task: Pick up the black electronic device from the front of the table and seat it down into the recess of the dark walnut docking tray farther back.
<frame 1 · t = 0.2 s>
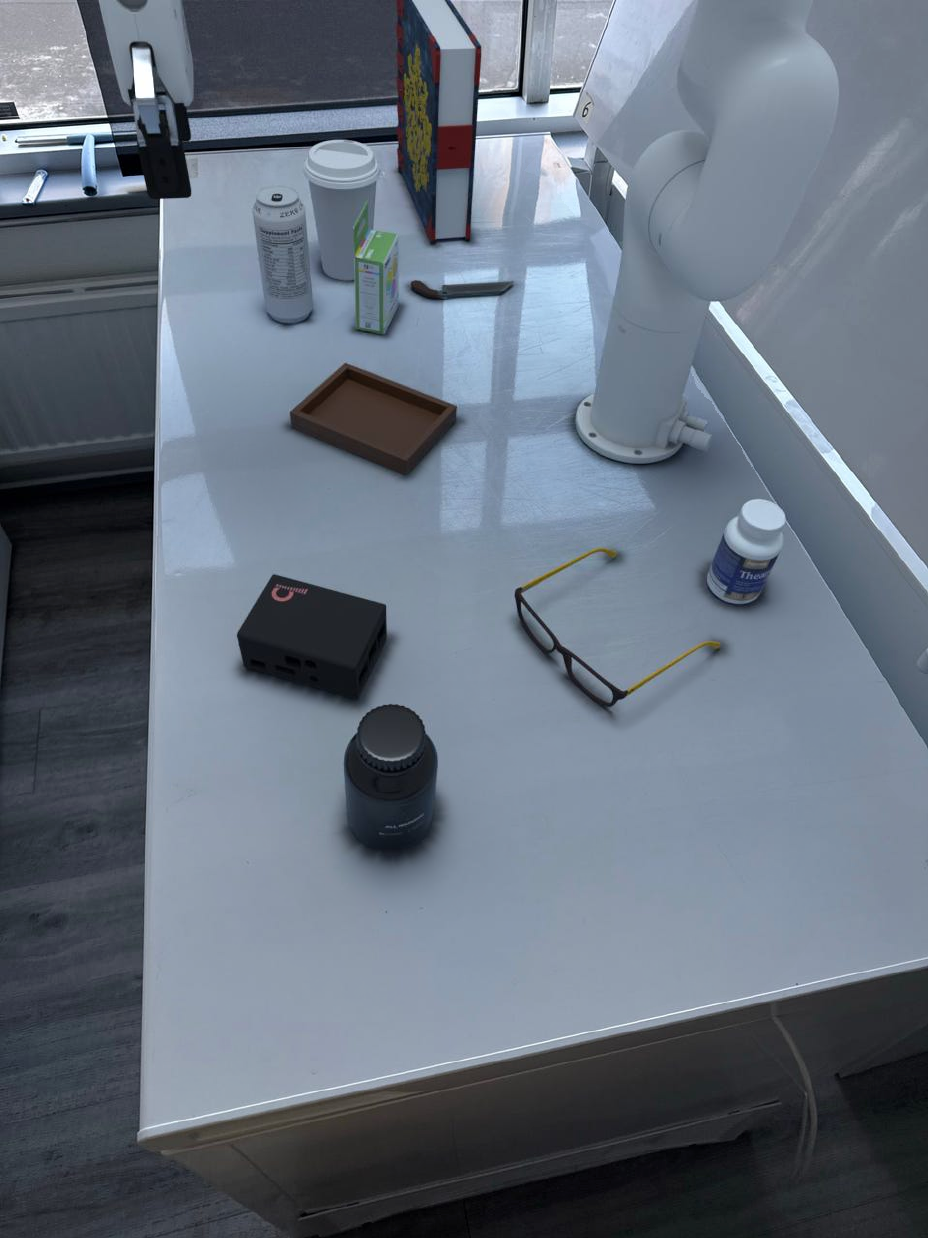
hand: (171, 167, 71), 31 cm above the table, tool pointing down, fingers open, 9 cm apart
book: (431, 202, 135), on the table
ink box: (377, 319, 114), on the table
pill bottle: (732, 586, 88), on the table
knife: (464, 290, 120), on the table
eyeglasses: (611, 635, 84), on the table
coffee cup: (346, 269, 122), on the table
energy drink can: (290, 313, 114), on the table
electronic device: (317, 654, 80), on the table
docking tray: (374, 423, 101), on the table
supplement bottle: (391, 814, 71), on the table
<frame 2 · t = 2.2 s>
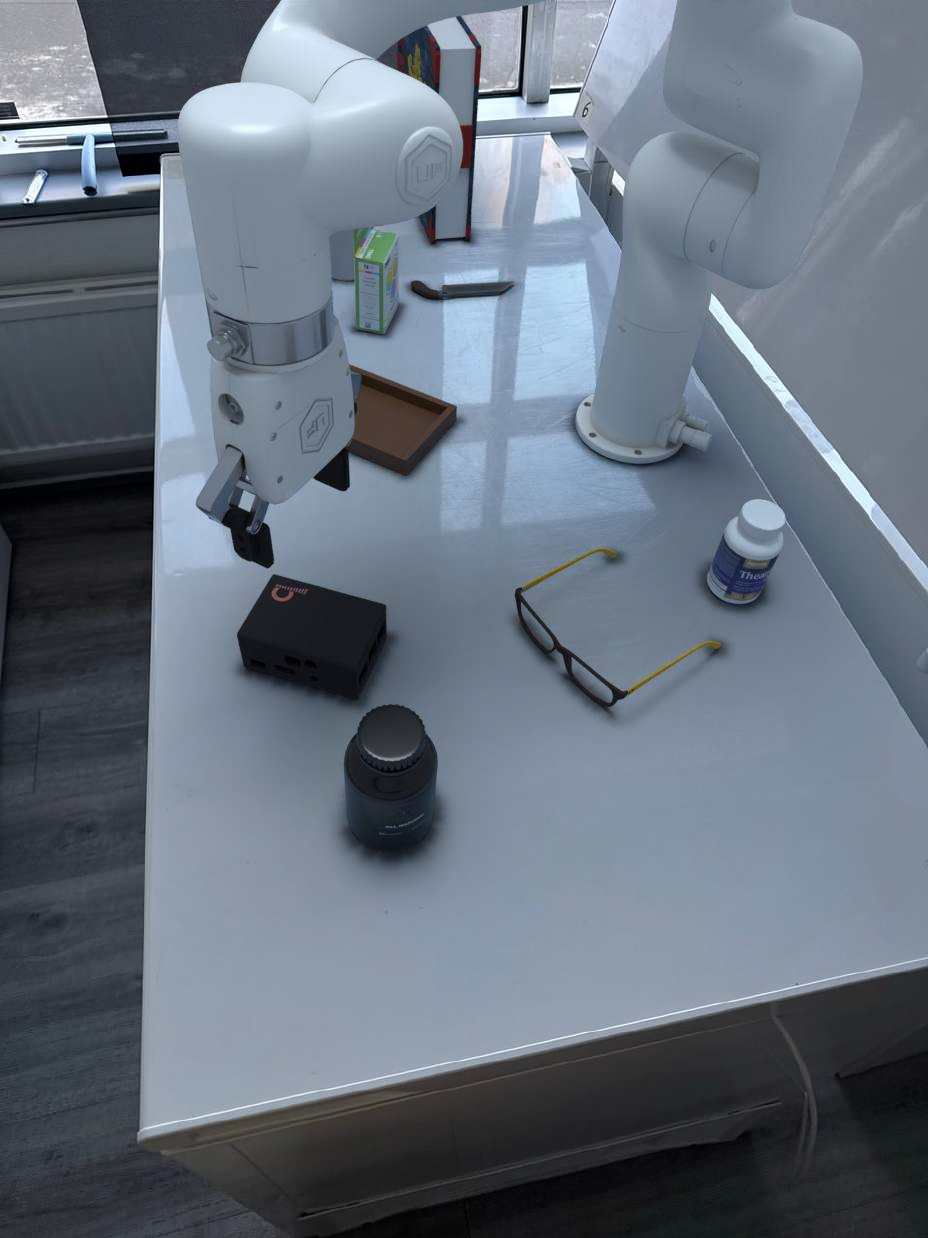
hand: (294, 519, 68), 16 cm above the table, tool pointing down, fingers open, 9 cm apart
nothing on the table moved.
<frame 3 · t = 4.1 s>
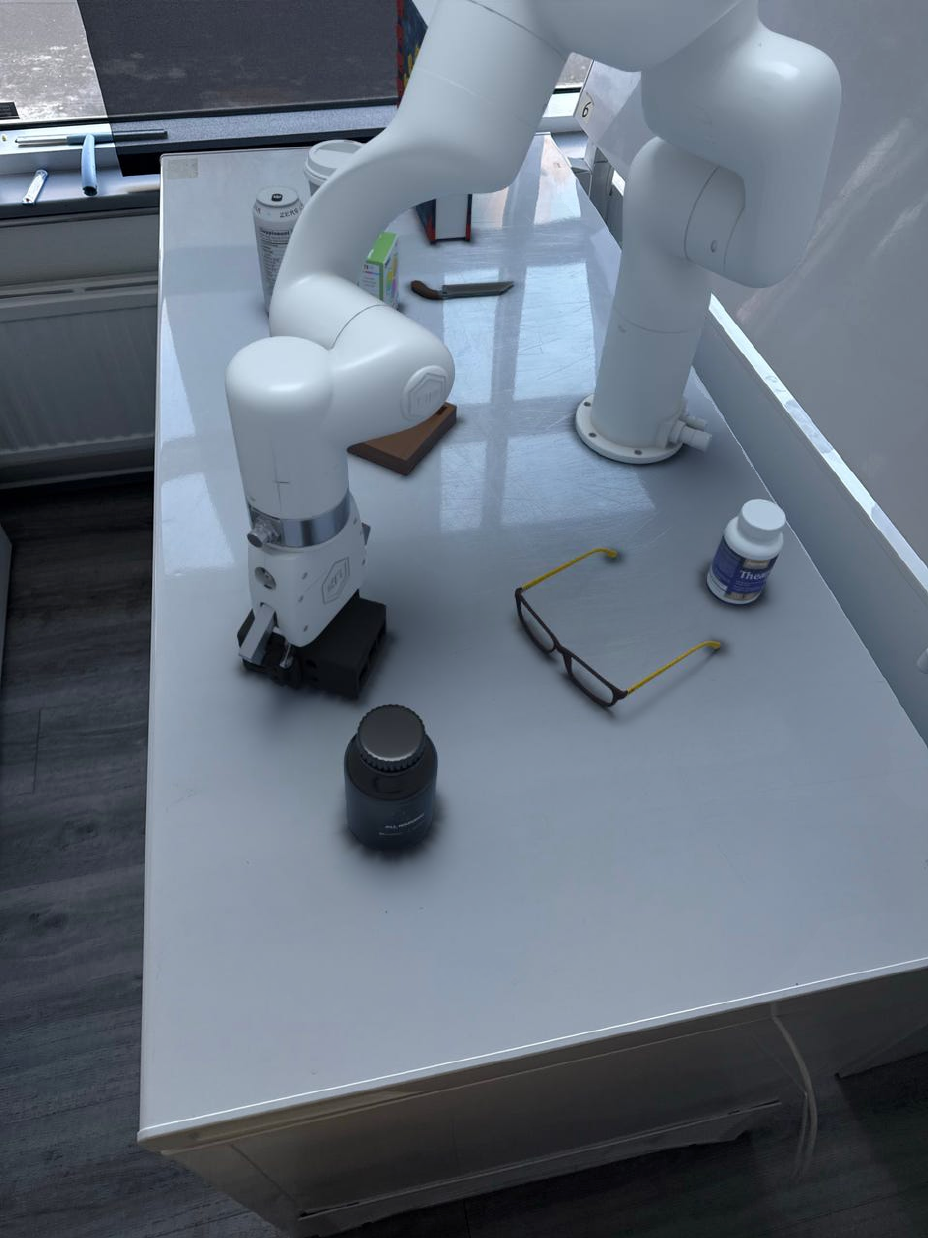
hand: (315, 645, 79), 1 cm above the table, tool pointing down, fingers closed on electronic device, 8 cm apart
electronic device: (317, 654, 80), on the table, touching gripper
everything else where it was.
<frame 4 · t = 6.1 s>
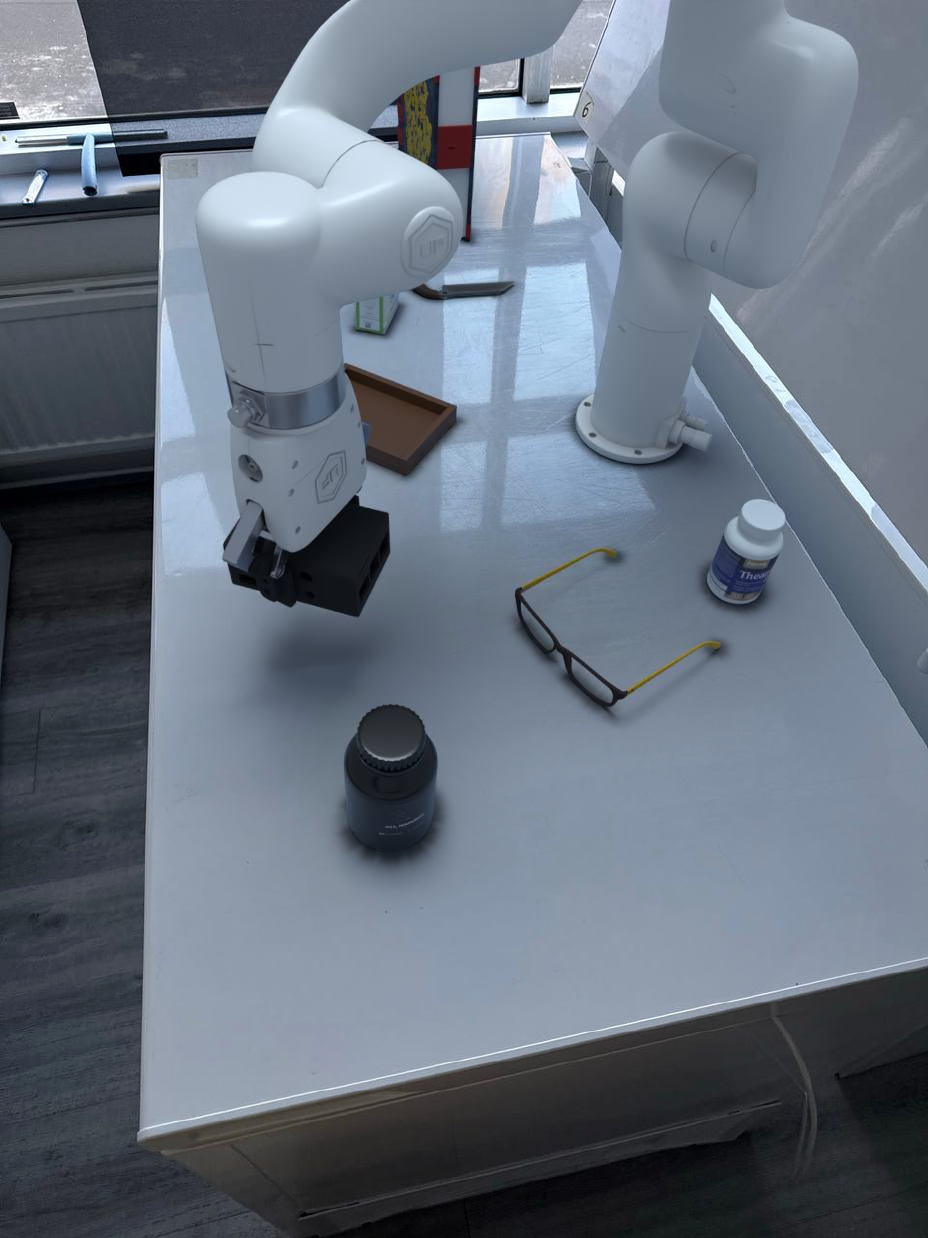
hand: (311, 560, 72), 12 cm above the table, tool pointing down, fingers closed on electronic device, 8 cm apart
electronic device: (313, 571, 73), point 10 cm above the table, touching gripper
everything else where it was.
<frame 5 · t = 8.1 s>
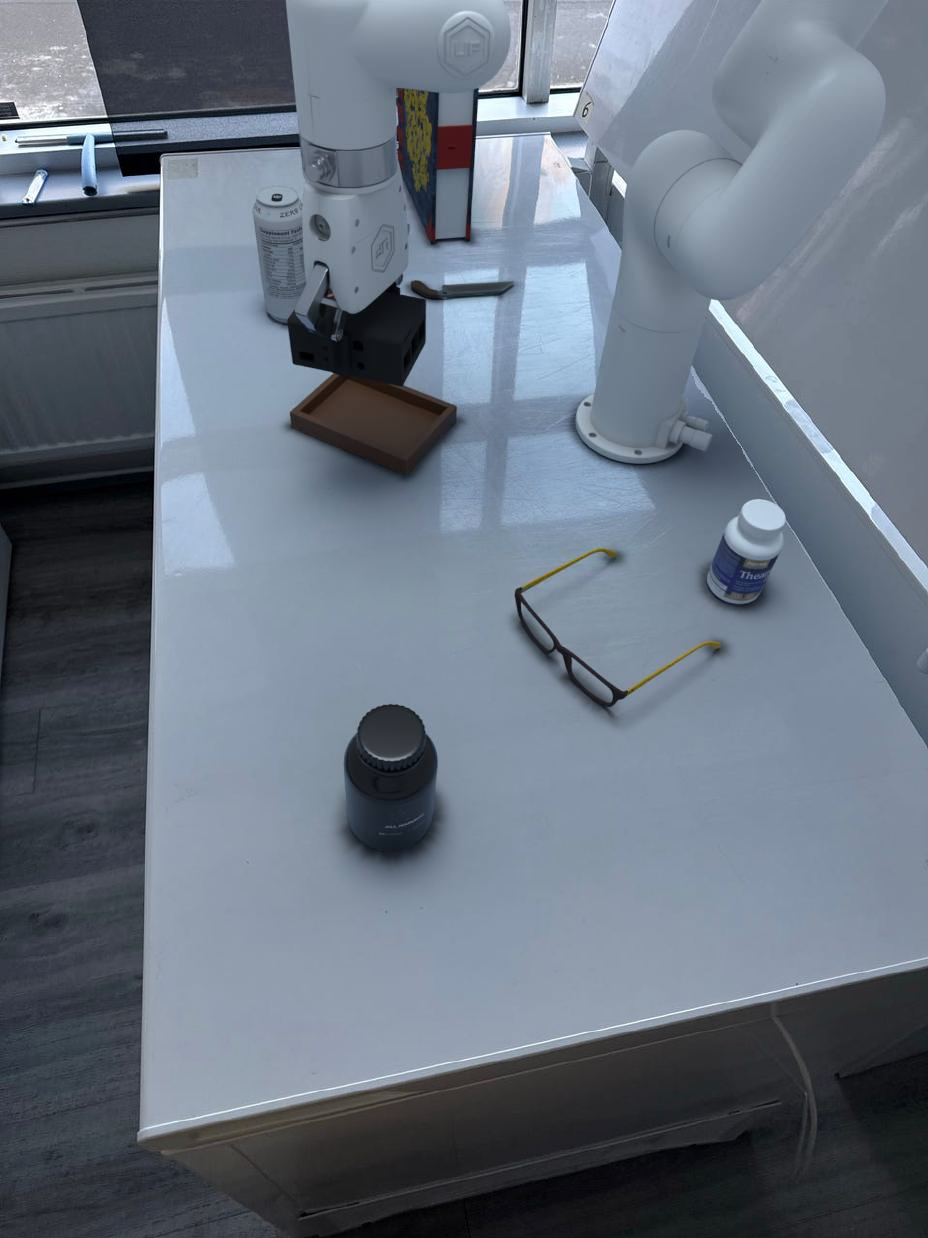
hand: (360, 345, 84), 16 cm above the table, tool pointing down, fingers closed on electronic device, 8 cm apart
electronic device: (360, 357, 85), point 14 cm above the table, touching gripper
everything else where it was.
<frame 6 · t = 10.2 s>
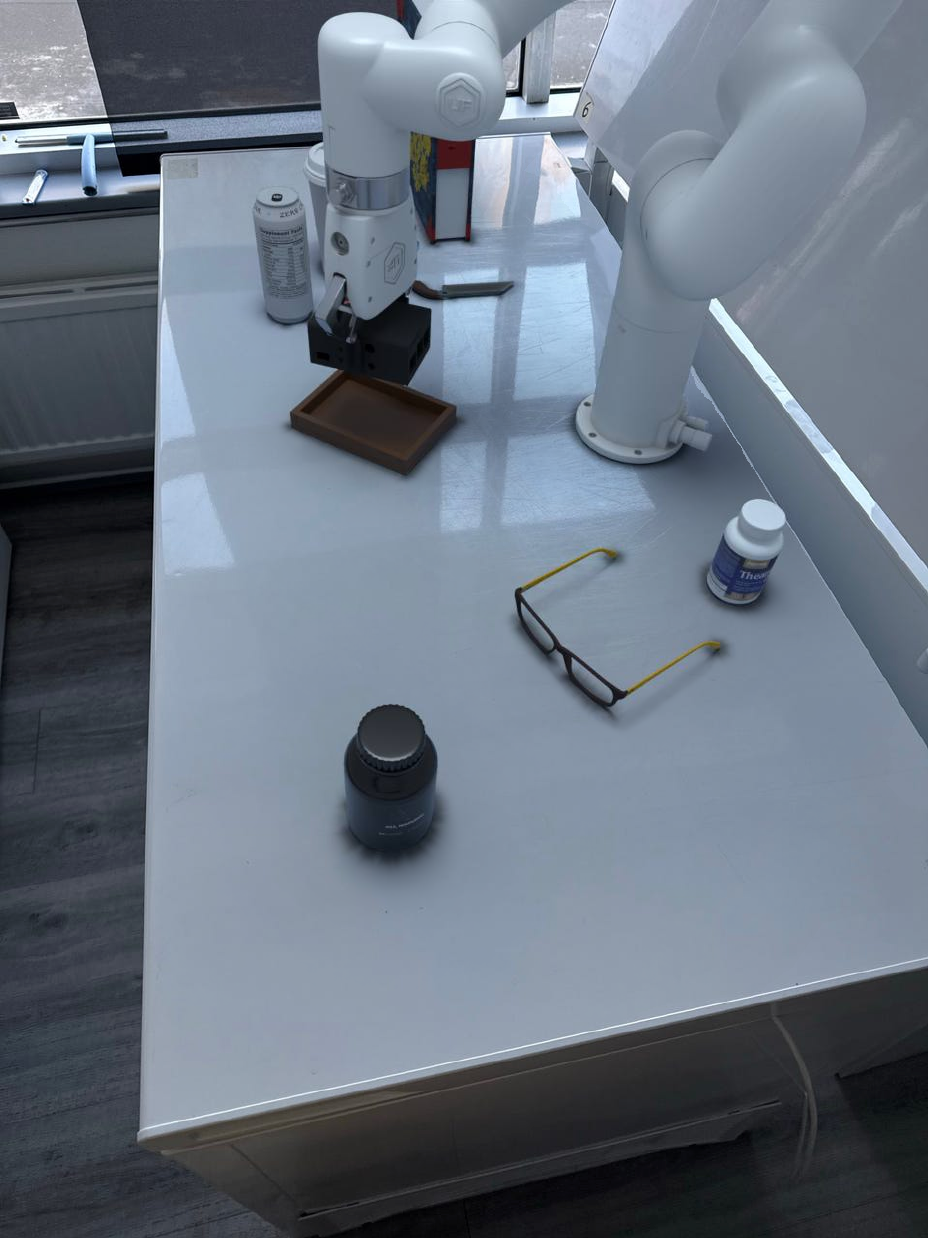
hand: (371, 347, 93), 10 cm above the table, tool pointing down, fingers closed on electronic device, 8 cm apart
electronic device: (371, 358, 94), point 9 cm above the table, touching gripper
everything else where it was.
when the fingers open (3 cm above the table, at t = 12.2 s): electronic device stays where it is, resting on docking tray.
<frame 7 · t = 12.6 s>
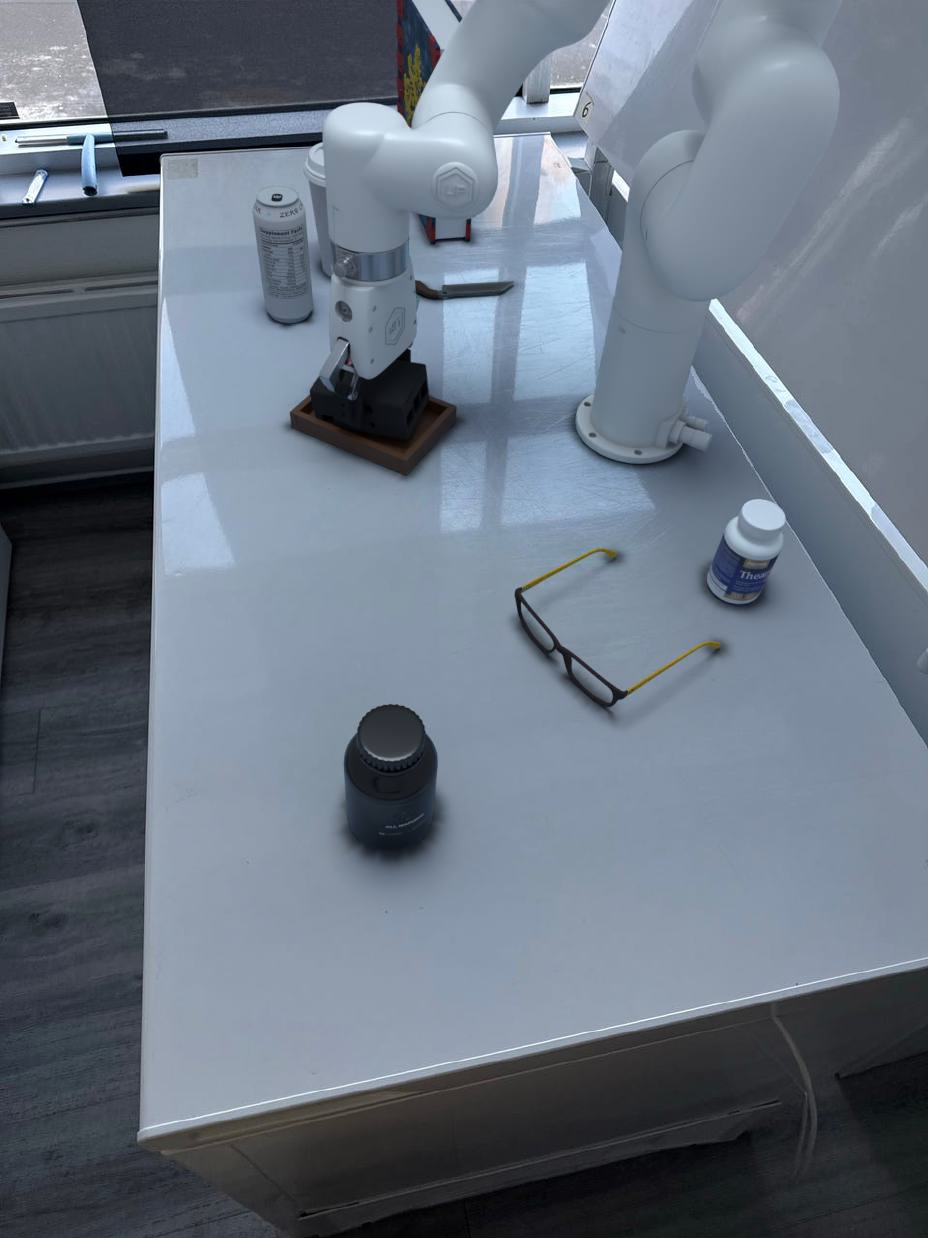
hand: (373, 399, 98), 3 cm above the table, tool pointing down, fingers open, 9 cm apart
electronic device: (374, 414, 100), point 1 cm above the table, touching docking tray
everything else where it was.
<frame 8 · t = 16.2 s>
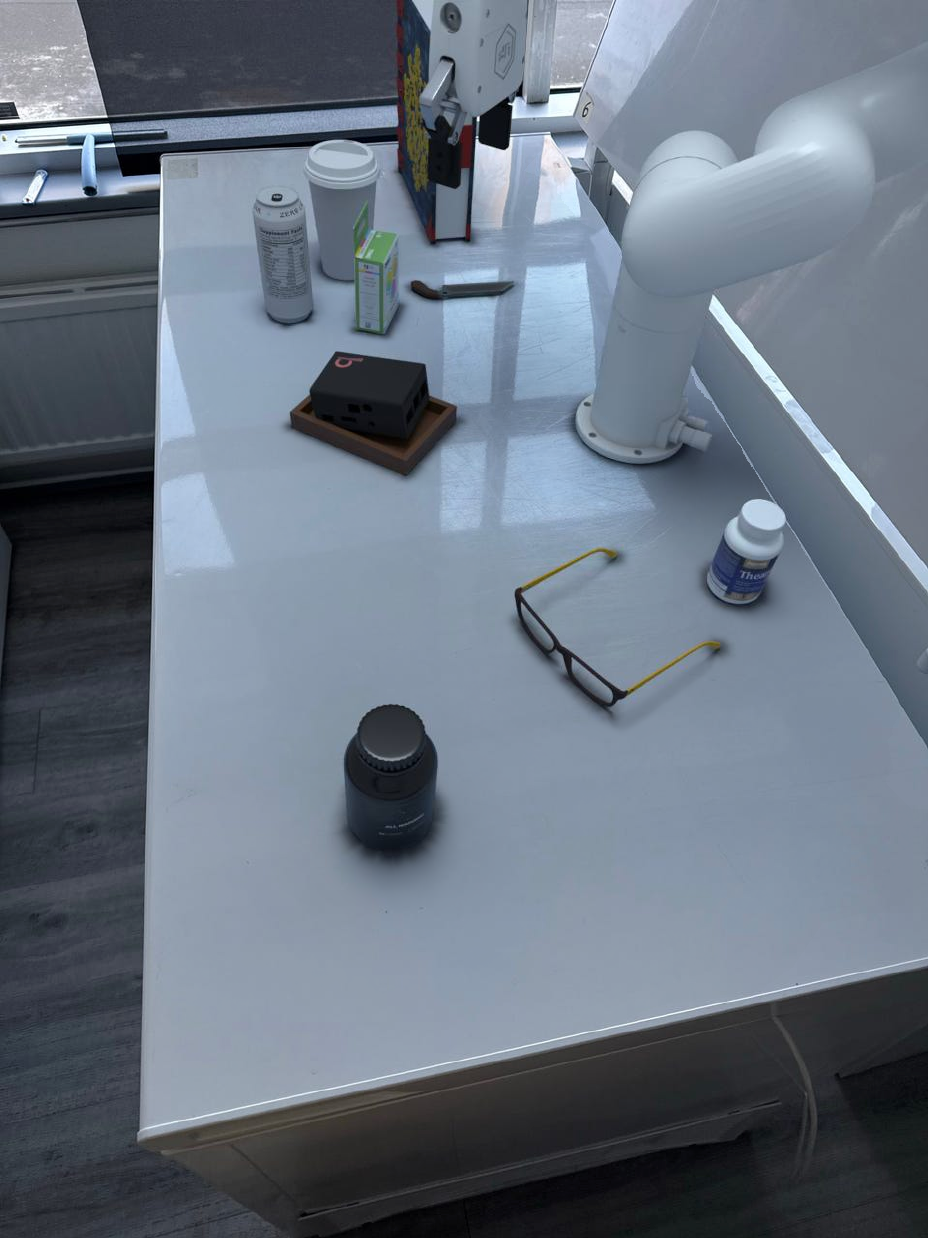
hand: (469, 164, 85), 26 cm above the table, tool pointing down, fingers open, 9 cm apart
nothing on the table moved.
at the end: electronic device 0.1 cm off-centre in the docking tray, point 1.2 cm above the docking tray's base; electronic device tilted 7° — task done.
